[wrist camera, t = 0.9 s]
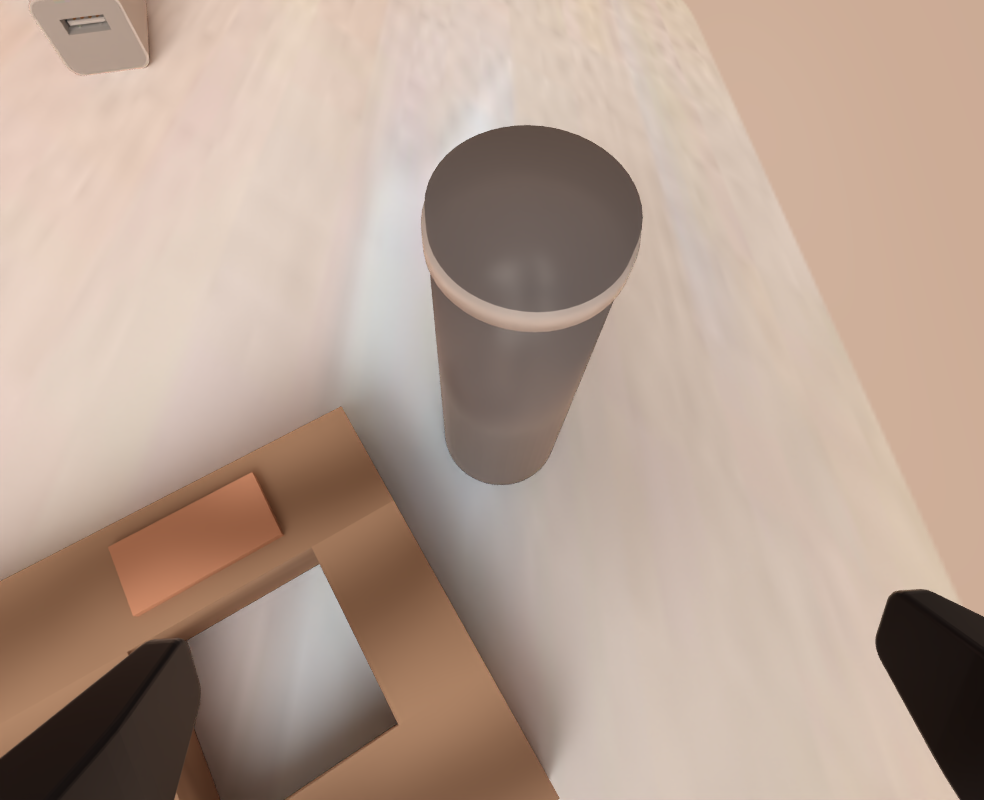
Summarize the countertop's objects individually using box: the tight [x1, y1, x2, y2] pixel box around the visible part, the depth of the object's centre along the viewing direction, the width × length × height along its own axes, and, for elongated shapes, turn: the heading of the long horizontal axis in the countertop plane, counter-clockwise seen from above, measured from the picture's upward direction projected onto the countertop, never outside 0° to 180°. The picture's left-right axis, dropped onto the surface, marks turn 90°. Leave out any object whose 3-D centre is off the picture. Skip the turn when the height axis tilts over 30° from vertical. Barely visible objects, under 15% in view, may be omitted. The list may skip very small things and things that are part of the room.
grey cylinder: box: [421, 125, 643, 485], centre depth 18 cm, size 5×5×13 cm
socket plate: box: [0, 407, 559, 800], centre depth 17 cm, size 14×22×3 cm, turn 122°
